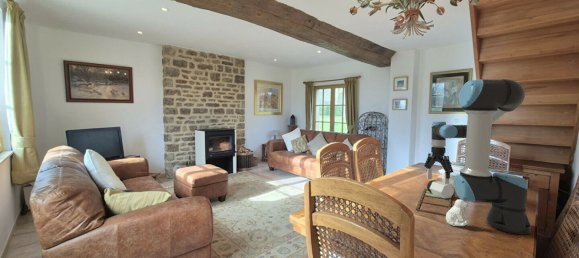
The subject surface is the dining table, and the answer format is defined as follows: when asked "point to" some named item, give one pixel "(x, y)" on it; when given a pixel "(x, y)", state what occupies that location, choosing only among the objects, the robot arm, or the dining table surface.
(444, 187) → the jar
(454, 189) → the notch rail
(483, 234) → the dining table surface
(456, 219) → the white animal figurine
